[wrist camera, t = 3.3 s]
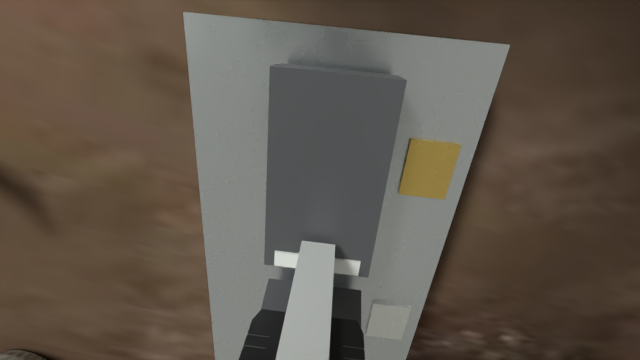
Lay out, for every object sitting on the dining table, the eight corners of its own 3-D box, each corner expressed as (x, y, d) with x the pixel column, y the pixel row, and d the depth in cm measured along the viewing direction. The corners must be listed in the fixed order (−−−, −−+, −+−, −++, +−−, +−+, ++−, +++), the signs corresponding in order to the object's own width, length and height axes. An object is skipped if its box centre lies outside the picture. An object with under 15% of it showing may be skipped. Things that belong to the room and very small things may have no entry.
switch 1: (280, 63, 13) (269, 66, 11) (398, 75, 13) (407, 80, 11) (273, 240, 17) (263, 265, 15) (365, 252, 17) (368, 279, 15)
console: (223, 15, 18) (175, 11, 13) (469, 40, 18) (518, 45, 13) (239, 376, 33) (219, 440, 28) (371, 395, 33) (375, 463, 28)
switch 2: (268, 278, 17) (259, 316, 15) (361, 290, 17) (361, 329, 15) (273, 347, 23) (266, 380, 21) (342, 356, 23) (340, 390, 21)
